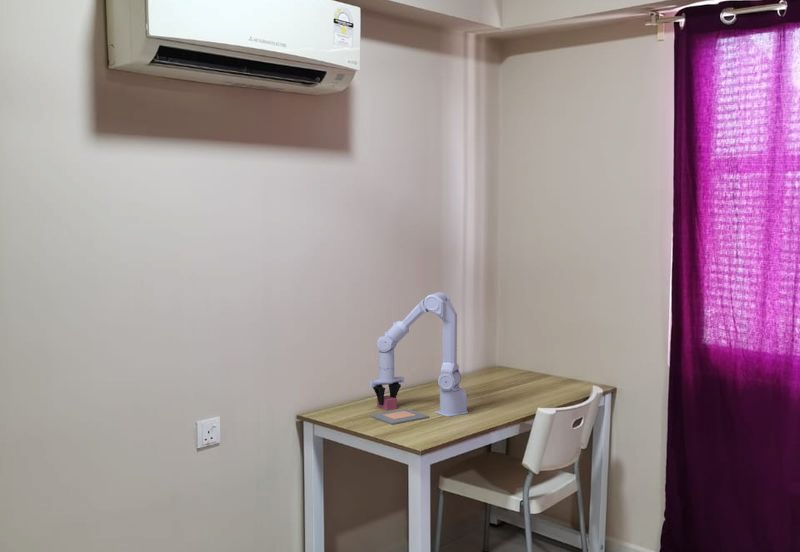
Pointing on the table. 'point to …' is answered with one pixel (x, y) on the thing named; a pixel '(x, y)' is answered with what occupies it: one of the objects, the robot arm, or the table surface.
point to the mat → (399, 416)
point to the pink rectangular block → (388, 403)
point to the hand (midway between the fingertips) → (386, 403)
